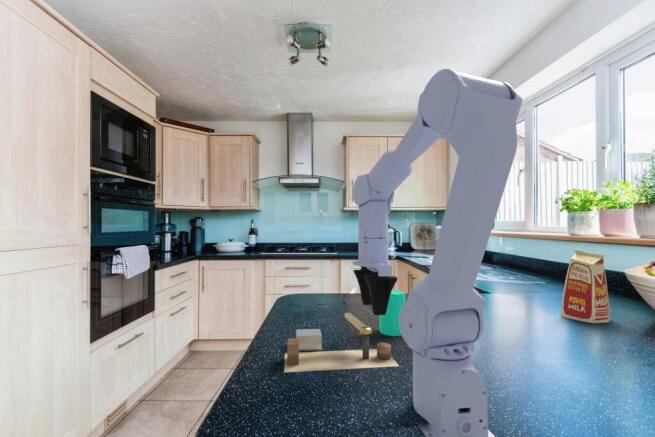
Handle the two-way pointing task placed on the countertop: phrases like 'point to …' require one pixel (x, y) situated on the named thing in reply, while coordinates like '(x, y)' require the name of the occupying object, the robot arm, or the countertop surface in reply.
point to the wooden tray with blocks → (338, 358)
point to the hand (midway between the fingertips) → (373, 309)
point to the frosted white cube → (309, 339)
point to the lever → (358, 324)
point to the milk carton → (586, 289)
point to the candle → (392, 315)
